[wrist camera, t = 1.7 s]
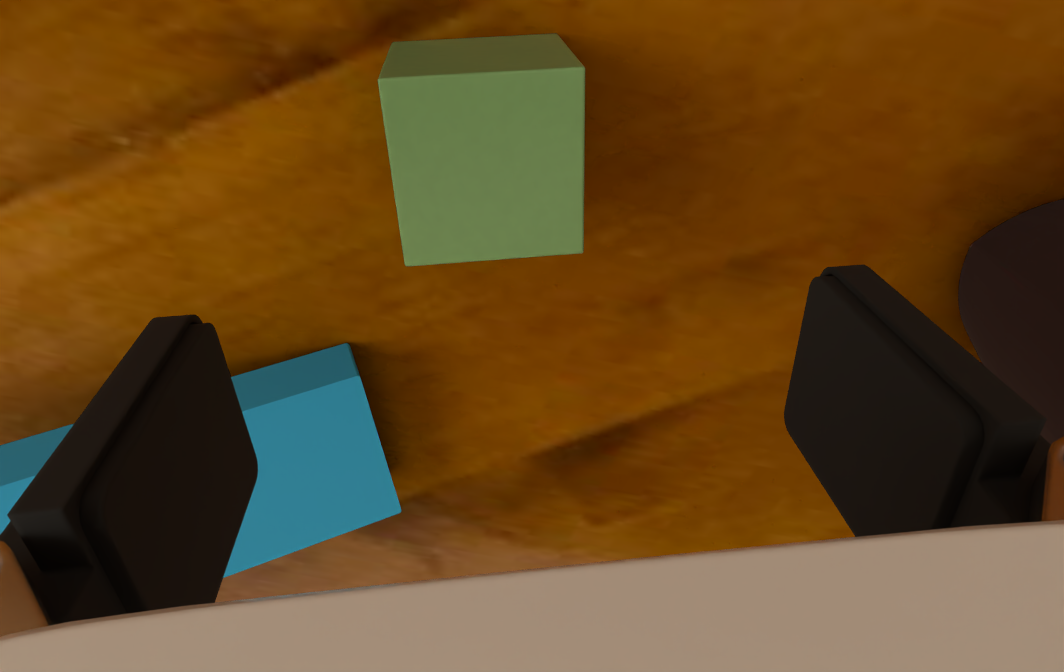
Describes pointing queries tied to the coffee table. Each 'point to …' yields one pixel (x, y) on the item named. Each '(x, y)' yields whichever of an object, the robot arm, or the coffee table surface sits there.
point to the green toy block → (485, 147)
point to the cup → (1021, 308)
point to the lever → (279, 457)
